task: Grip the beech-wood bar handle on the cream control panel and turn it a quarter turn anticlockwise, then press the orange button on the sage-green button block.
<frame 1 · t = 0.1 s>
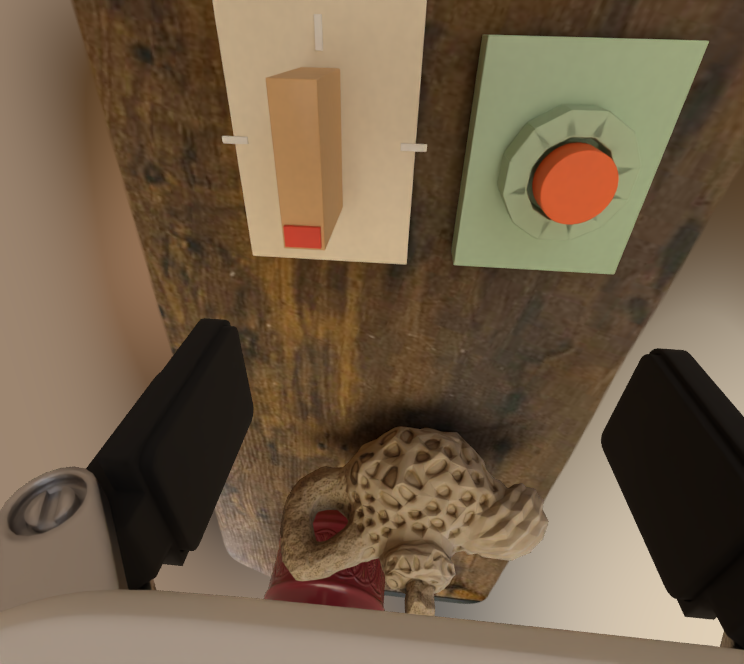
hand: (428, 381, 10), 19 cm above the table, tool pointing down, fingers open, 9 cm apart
button block: (549, 161, 25), on the table
button: (573, 184, 21), point 5 cm above the table, slide at 0.1 cm
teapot: (413, 440, 40), on the table
kitchen canister: (336, 530, 51), on the table
handle: (311, 157, 20), point 6 cm above the table, hinge at 0.0°
panel: (331, 134, 25), on the table
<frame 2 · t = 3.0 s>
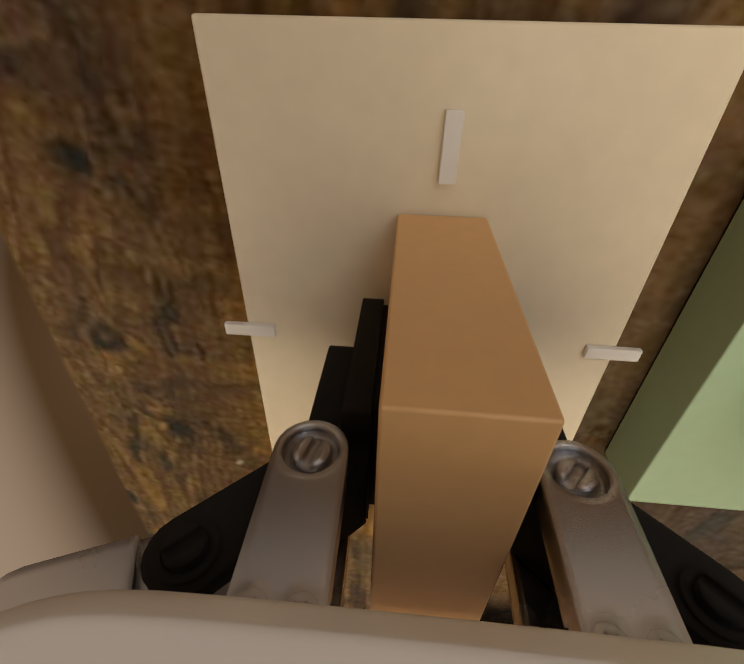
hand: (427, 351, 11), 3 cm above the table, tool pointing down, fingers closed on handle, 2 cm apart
handle: (430, 428, 9), point 6 cm above the table, hinge at 0.0°, touching gripper
panel: (425, 292, 13), on the table
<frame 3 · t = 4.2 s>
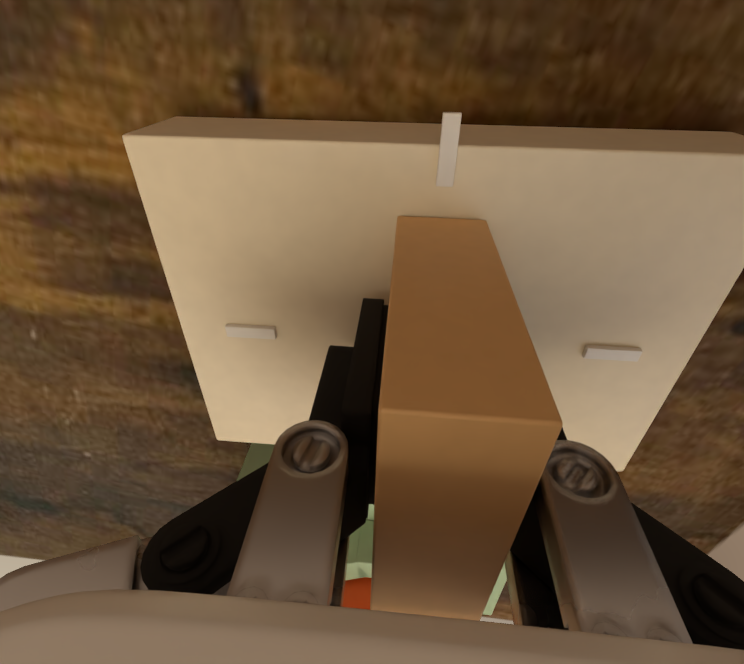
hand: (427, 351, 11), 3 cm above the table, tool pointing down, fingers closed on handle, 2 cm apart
button block: (383, 514, 21), on the table
button: (376, 614, 17), point 5 cm above the table, slide at 0.1 cm
handle: (429, 429, 9), point 6 cm above the table, hinge at 89.5°, touching gripper
panel: (424, 294, 13), on the table
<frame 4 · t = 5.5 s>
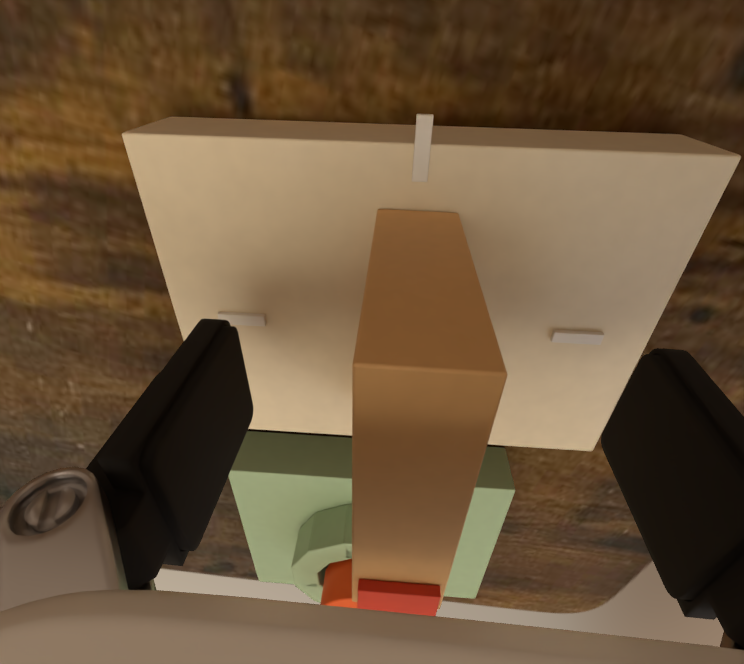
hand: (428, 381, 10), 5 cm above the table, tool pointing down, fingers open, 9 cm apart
button block: (370, 501, 22), on the table
button: (363, 595, 18), point 5 cm above the table, slide at 0.1 cm
handle: (407, 403, 10), point 6 cm above the table, hinge at 89.5°
panel: (406, 285, 14), on the table
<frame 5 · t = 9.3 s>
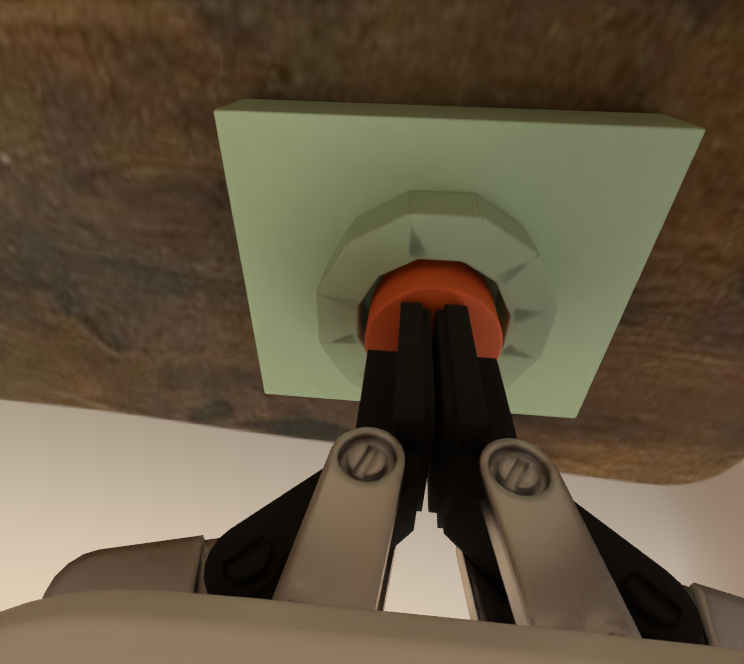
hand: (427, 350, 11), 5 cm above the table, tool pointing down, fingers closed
button block: (428, 263, 15), on the table
button: (431, 328, 12), point 4 cm above the table, slide at -0.4 cm, touching gripper
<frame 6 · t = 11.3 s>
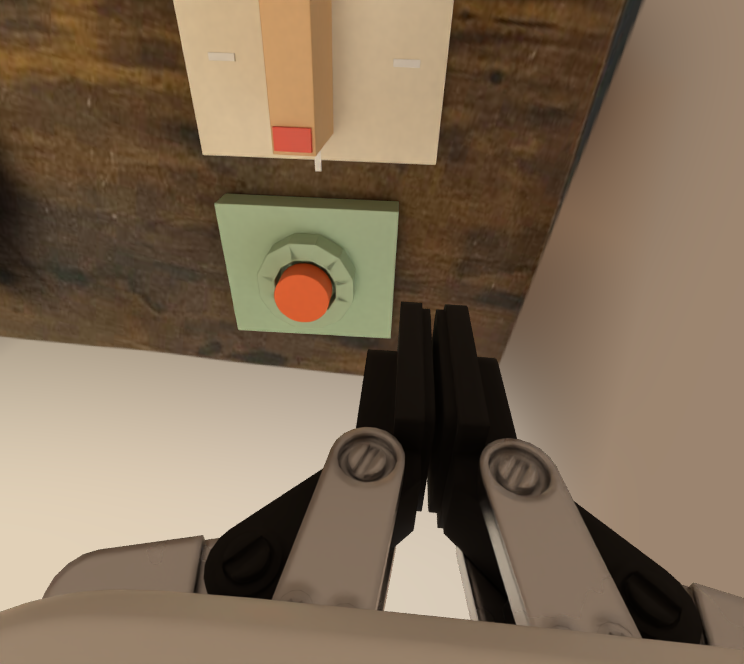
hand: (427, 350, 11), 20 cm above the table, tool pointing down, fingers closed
button block: (315, 263, 31), on the table
button: (303, 293, 28), point 5 cm above the table, slide at 0.1 cm
handle: (302, 62, 19), point 6 cm above the table, hinge at 89.5°
panel: (321, 58, 24), on the table
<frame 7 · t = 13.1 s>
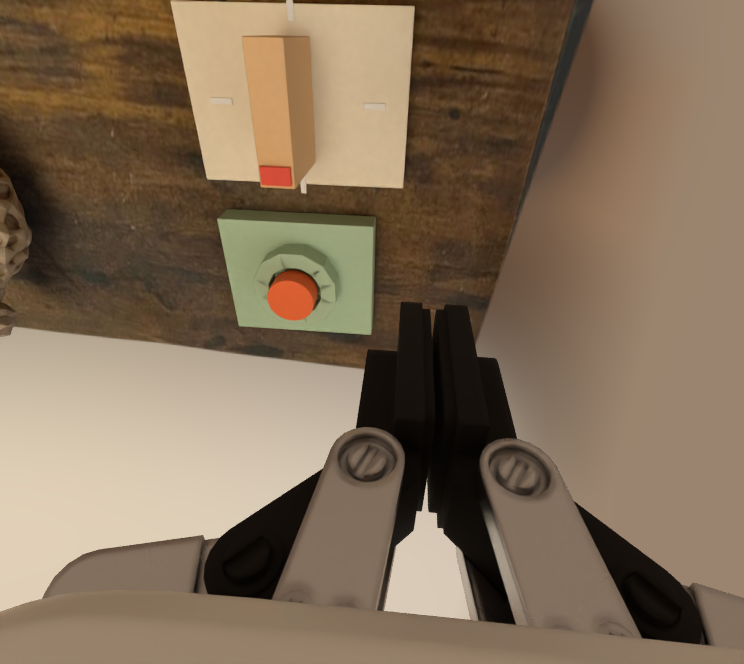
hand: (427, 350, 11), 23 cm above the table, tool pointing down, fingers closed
button block: (305, 268, 36), on the table
button: (293, 295, 32), point 5 cm above the table, slide at 0.1 cm
handle: (284, 111, 24), point 6 cm above the table, hinge at 89.5°
panel: (306, 98, 28), on the table
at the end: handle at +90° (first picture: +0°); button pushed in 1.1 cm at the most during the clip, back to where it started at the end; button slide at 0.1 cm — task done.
